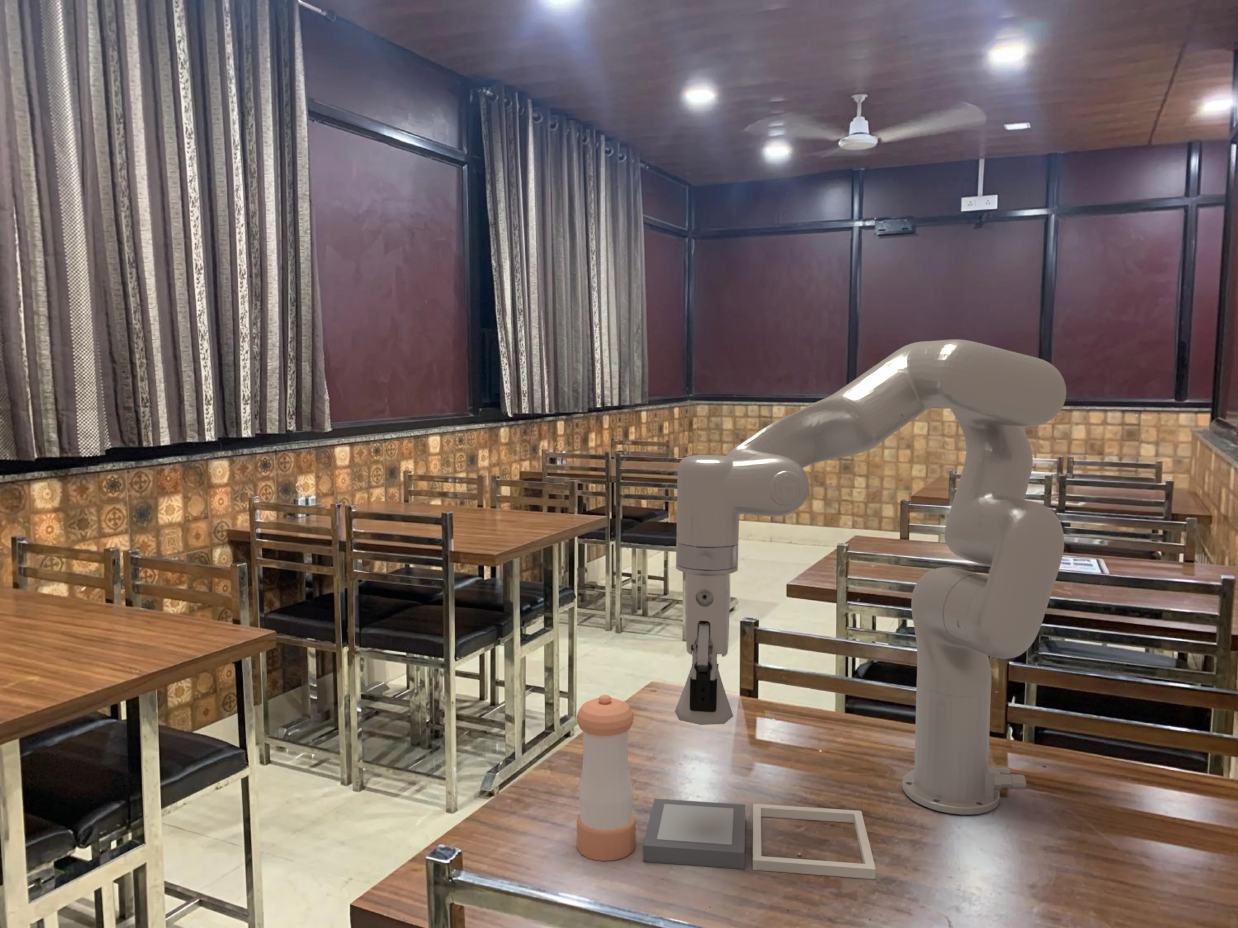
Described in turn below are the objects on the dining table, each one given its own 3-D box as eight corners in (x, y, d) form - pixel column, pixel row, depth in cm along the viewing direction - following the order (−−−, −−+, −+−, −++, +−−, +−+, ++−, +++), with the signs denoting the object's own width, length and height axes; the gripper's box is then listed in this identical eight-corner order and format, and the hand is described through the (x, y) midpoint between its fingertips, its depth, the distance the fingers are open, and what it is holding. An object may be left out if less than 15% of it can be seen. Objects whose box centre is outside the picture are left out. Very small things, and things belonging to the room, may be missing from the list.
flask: (731, 729, 105) (733, 647, 104) (670, 724, 106) (672, 643, 105) (734, 707, 112) (736, 630, 111) (678, 703, 113) (679, 627, 112)
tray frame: (861, 819, 115) (861, 810, 115) (875, 879, 102) (875, 869, 101) (753, 812, 117) (753, 803, 117) (752, 869, 104) (752, 859, 104)
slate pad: (745, 818, 116) (745, 803, 115) (744, 868, 104) (744, 851, 104) (654, 812, 117) (654, 797, 117) (643, 861, 106) (643, 844, 105)
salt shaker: (643, 835, 112) (642, 688, 110) (624, 865, 105) (623, 709, 103) (589, 826, 114) (587, 682, 112) (567, 855, 107) (566, 702, 105)
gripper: (737, 572, 98) (733, 730, 100) (738, 545, 115) (735, 681, 117) (670, 570, 99) (667, 726, 101) (681, 543, 116) (678, 678, 118)
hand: (704, 700), depth 109 cm, fingers closed on flask, 4 cm apart
